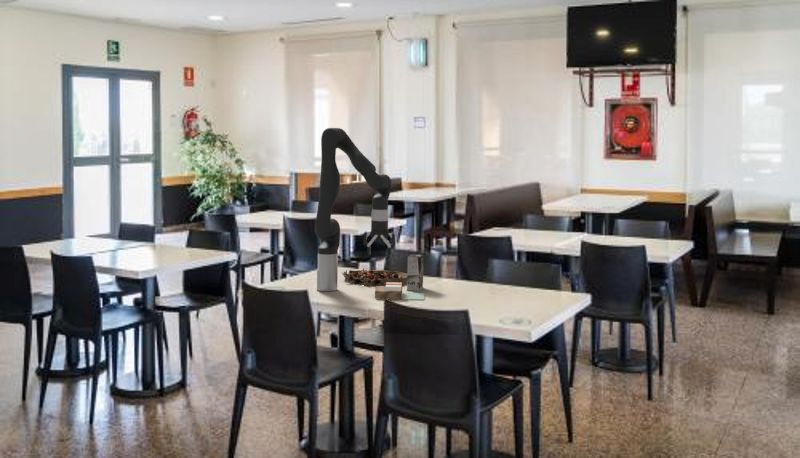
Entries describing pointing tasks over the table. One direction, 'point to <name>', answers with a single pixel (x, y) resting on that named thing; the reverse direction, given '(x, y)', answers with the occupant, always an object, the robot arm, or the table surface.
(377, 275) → the dried twig wreath
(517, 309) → the table surface
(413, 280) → the coffee box
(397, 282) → the terracotta card
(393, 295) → the deck
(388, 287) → the cream card
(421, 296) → the mat
